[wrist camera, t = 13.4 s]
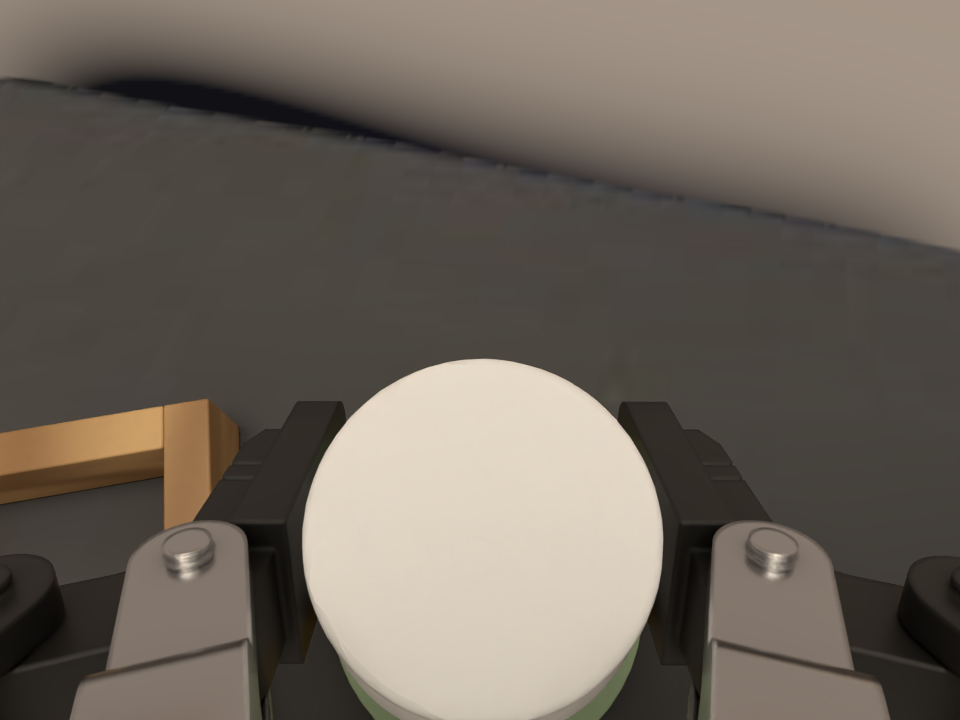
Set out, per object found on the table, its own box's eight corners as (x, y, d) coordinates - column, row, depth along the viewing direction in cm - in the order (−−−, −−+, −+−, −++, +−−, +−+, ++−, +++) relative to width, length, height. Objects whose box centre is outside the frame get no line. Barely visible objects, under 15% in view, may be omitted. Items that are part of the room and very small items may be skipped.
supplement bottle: (399, 466, 16) (328, 295, 8) (598, 499, 16) (710, 352, 8) (352, 687, 14) (204, 726, 7) (575, 728, 14) (695, 819, 6)
